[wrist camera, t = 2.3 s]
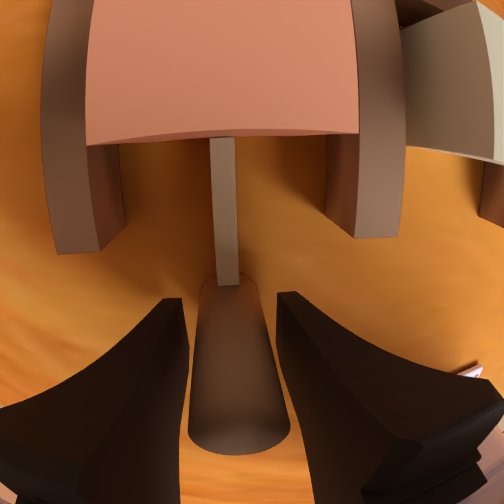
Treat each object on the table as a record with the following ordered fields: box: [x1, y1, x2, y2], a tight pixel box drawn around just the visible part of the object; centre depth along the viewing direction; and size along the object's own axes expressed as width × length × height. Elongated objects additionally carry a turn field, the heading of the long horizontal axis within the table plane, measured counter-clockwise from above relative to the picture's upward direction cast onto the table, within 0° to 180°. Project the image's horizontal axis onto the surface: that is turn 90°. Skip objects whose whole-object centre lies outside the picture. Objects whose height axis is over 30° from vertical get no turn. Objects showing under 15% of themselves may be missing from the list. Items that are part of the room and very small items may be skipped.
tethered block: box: [85, 0, 359, 455], centre depth 6 cm, size 11×4×6 cm, turn 1°
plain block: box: [400, 0, 504, 165], centre depth 6 cm, size 4×4×5 cm
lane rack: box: [41, 0, 504, 255], centre depth 7 cm, size 10×18×2 cm, turn 91°
